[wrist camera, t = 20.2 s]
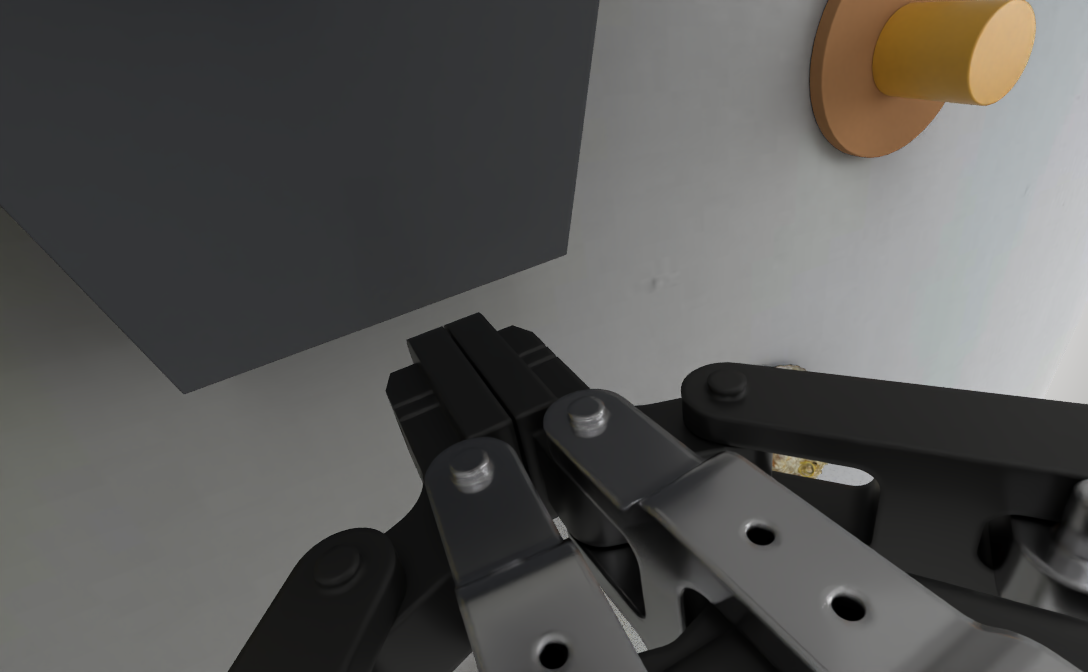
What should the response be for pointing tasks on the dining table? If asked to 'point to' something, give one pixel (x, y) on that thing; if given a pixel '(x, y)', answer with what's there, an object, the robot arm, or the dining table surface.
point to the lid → (288, 159)
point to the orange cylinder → (954, 50)
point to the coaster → (860, 82)
